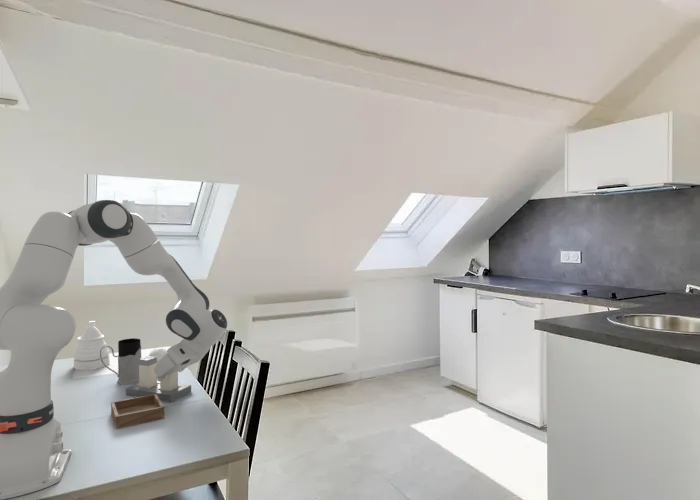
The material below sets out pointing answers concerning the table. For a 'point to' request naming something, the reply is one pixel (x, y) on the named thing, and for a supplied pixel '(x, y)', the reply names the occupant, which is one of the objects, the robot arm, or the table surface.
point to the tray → (137, 410)
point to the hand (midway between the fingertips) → (169, 374)
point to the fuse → (147, 372)
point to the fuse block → (159, 392)
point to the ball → (158, 353)
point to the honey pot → (91, 349)
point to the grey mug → (127, 360)
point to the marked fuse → (169, 382)
